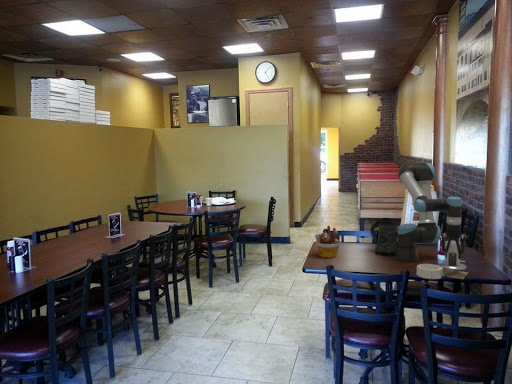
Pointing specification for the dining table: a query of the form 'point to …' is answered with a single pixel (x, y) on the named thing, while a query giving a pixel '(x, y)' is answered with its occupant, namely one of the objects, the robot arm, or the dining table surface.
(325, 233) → the bucket of meat
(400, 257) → the robot arm
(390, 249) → the beer stein
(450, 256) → the lid
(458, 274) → the plate
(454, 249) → the cup
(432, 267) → the bowl
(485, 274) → the dining table surface
